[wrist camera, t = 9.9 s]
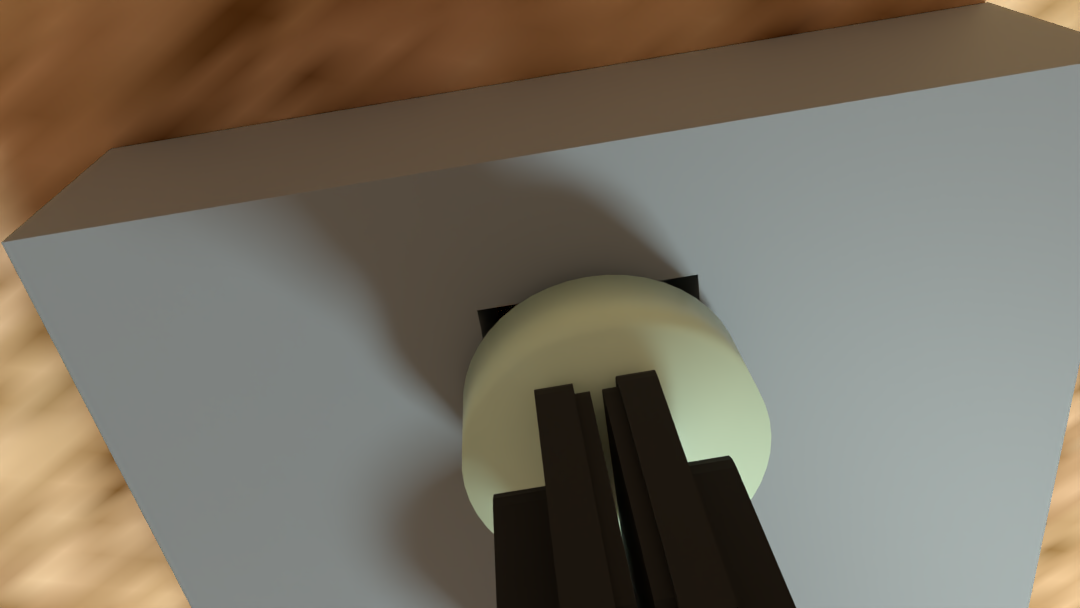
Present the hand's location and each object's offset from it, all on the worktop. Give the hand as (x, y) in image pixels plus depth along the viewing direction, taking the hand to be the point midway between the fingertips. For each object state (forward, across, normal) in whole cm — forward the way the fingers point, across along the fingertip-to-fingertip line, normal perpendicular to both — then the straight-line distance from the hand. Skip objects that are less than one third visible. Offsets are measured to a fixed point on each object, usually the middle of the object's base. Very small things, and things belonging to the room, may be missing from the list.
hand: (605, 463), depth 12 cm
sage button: (+5, 0, 0) cm, 5 cm away
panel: (+6, 0, +7) cm, 9 cm away
